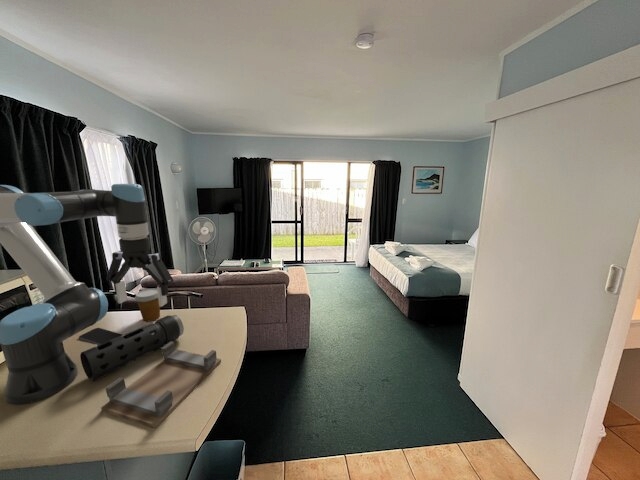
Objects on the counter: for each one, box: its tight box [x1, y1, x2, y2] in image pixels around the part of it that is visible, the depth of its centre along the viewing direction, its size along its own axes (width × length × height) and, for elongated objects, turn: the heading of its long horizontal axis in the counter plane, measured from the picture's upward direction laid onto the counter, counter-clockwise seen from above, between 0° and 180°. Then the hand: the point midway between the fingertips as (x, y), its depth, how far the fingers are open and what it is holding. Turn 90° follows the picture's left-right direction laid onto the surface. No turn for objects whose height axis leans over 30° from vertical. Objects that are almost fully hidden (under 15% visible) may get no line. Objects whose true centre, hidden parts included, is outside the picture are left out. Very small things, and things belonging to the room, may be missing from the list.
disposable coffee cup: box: [134, 288, 161, 323], centre depth 119 cm, size 10×10×12 cm
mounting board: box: [100, 341, 222, 429], centre depth 82 cm, size 18×26×6 cm
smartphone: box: [78, 327, 124, 345], centre depth 106 cm, size 7×1×15 cm
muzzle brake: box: [79, 314, 185, 382], centre depth 93 cm, size 10×28×10 cm, turn 147°
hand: (143, 303), depth 87 cm, fingers open, 13 cm apart
